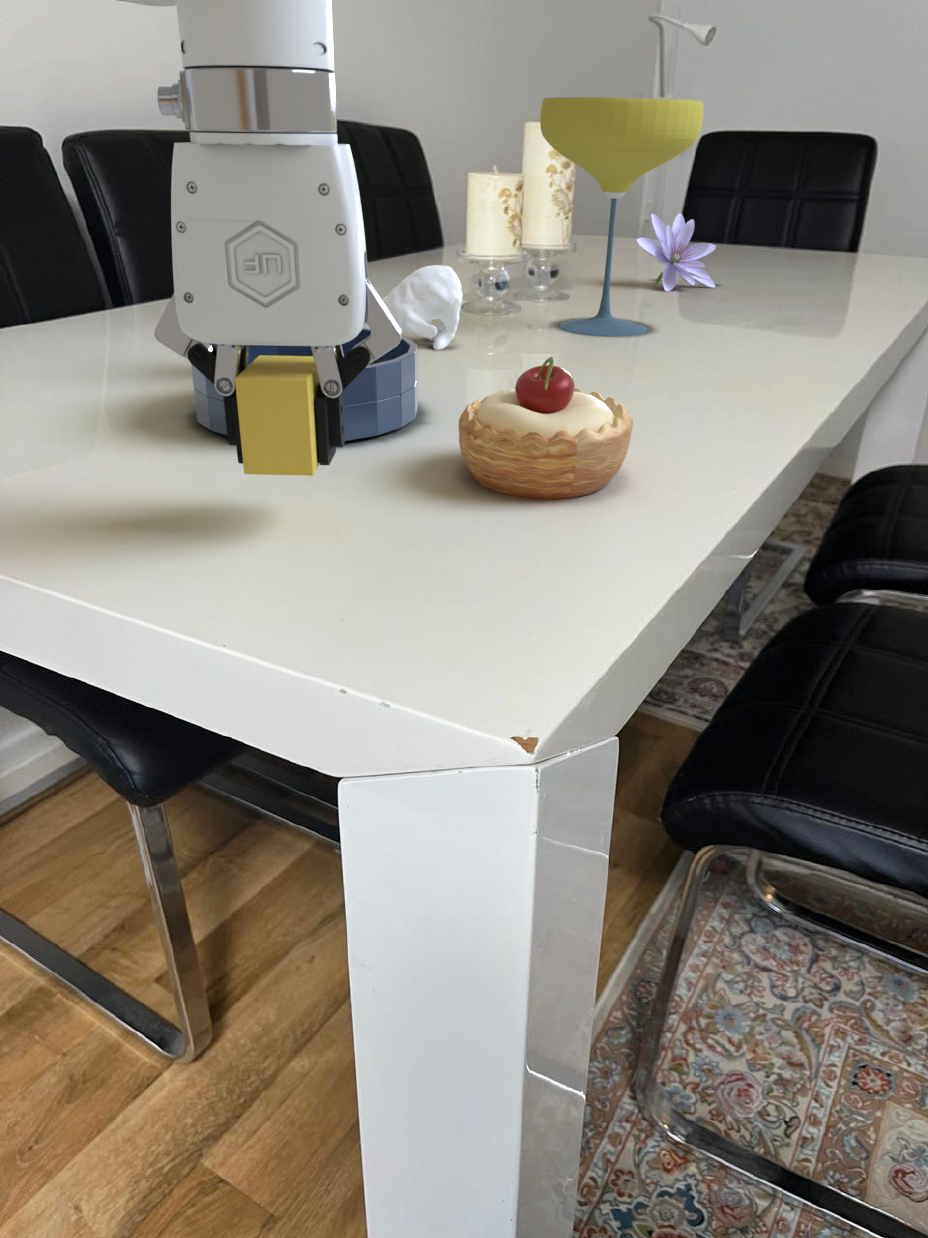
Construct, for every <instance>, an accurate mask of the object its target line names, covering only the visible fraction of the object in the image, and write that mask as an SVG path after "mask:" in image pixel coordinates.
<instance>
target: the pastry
mask: <svg viewBox="0 0 928 1238" xmlns="http://www.w3.org/2000/svg"><path fill="white" fill-rule="evenodd" d="M575 386H576V385H575V381H574V378H573V376H572V374H571V373H570V372H569V371H568V370H566V369H565V368H564V367H560V366H557V365H554V357H553V356H550V357H548V358H547V359H546V360H545V361H544V362H543V363H542V365H538V366H534V367H530V368H529V369H527V370H526V371H524V372H522V374H521V375H519V377H518V378H517V380H516V383H515V386H514V388H509V389H502V390H498V391H496V392H494V393H492V394H488V395H487V396H485V397H484V398H483V399H482V400H479V399H477V400H474V401H473V402H472V403H468V404H467V405H466V406H465V408H464V410H463V411H462V412H461V414H460V416H459V419H458V445H459V449H460V454H461V456H462V460H463V461H464V464H465V466H466V468H467V470H468V471H469V473H470V474H471V475H472V477H473V478H474V479H475V481H476V482H477V483H478V484H479V485H481V486H482V487H484V488H486V489H488V490H490V491H493V492H496V493H499V494H502V495H506V496H511V497H518V498H523V499H524V498H525V499H533V500H563V499H565V500H566V499H571V498H572V499H573V498H579V497H582V496H588V495H590V494H593V493H596V492H598V491H600V490H602V489H604V488H605V487H606V486H608V484H609V483H610V482H611V481H612V480H613V478H614V477H615V476H616V474H617V473H618V472H619V471H620V469H621V467H622V465H623V463H624V461H625V459H626V457H627V454H628V451H629V447H630V443H631V437H632V432H633V426H634V420H633V418H632V415H631V414H630V411H628V409H627V407H626V406H625V405H624V404H623V403H621V402H619V403H618V402H617V401H616V400H615V399H614V397H613V398H612V397H610V396H608V397H607V398H606V399H605V398H604V397H603V396H602V395H601V394H600V393H599V392H596V391H591V392H590V393H589V394H588V393H584V392H583V391H582V390H581V389H579V388H575Z"/></svg>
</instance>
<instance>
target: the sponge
mask: <svg viewBox="0 0 928 1238" xmlns="http://www.w3.org/2000/svg"><path fill="white" fill-rule="evenodd" d="M319 383H320V382H319V378H318V374H317V370H316V366H315V361H314V357H313V356H265V355H259V356H258V357H257V358H256V359H255V360H254V361H253V362H252V363H251V364H250V365H249V366H248V367H247V368H246V369H245V370H244V371H243V372H241V373H240V374H239V375H238V376H237V377H236V378H235V384H236V395H237V405H238V415H239V425H240V436H241V446H242V456H243V464H242V465H243V474H244V475H259V476H260V475H263V476H264V475H265V476H271V475H272V476H308V477H309V476H311V477H313V476H314V475H315V473H316V471H317V469H318V467H319V465H320V463H318V461H317V447H316V430H315V414H314V399H315V398H316V396H317V395H318V385H319Z"/></svg>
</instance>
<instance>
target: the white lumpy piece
mask: <svg viewBox="0 0 928 1238" xmlns="http://www.w3.org/2000/svg"><path fill="white" fill-rule="evenodd" d="M463 295H464V294H463V291H462V284H461V281H460V279H459V276H458V275H457V273H456V272H455V271H454V269H453V268H452V267H451V266H449V265H441V264H433V265H427V266H423V267H419V268H418V269H416V270H414V271H413V272H411V274H409V275H408V276H405V278H404V279H402V280H401V281H400V282H399V284H398V285H396V286H395V287H393V288H392V289H391V290H390V291H389V292H388V294H387V295H386V296H383V297H382V298H381V300H382V301H383V303H384V304H385V306H386V307H387V309H388V310H389V312H390V313H391V315H392V316H393V318H394V319H395V321H396V323H397V324H398V326H399V327H400V329H401V331H402V334H406V335H409V334H415V335H418V336H420V337H423V338H426V339H428V340H429V341H431V342H433V343H432V348H433V350H438V351H439V350H443V349H445V348H446V347H448V346H449V344H450V343H451V341H452V340H453V339H454V337H455V335H456V332H457V329H458V325H459V322H460V312H461V307H462V301H463ZM436 320H439V321H440V323H441V325H440V326H438V327H436V326H435V325H433V324H432V321H436ZM363 328H369V329H370V327H369V326H368V324H367V323H365V324H364V325H363Z"/></svg>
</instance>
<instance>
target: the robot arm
mask: <svg viewBox="0 0 928 1238" xmlns="http://www.w3.org/2000/svg"><path fill="white" fill-rule="evenodd" d="M117 1H119V2H125V3H130V4H137V5H140V6H141V5H142V6H149V7H174V6H176V13H177V23H178V31H179V41H180V51H181V52H180V53H181V60H182V68H183V71H181V70H180V71H179V79H178V80H177V82H176V83H175V82H174V83H173V84H172V86H166V85H165V86H163V85H162V86H158V89H157V93H156V94H157V104H158V108H159V112H160V114H161V115H162V116H175V118H176V119H181V120H182V123H184V128H185V130H189V139H190V140H189V141H190V142H189V141H188V142H187V141H186V142H174V143H173V151H172V161H171V182H170V183H171V184H170V185H171V186H170V187H171V188H170V193H171V194H170V198H171V199H170V221H171V222H170V224H171V225H170V226H171V227H170V229H171V257H172V276H173V279H172V280H173V293H172V295H171V298H170V299H169V302H168V303H167V305H166V307H165V309H164V311H163V313H162V315H161V316H160V319H159V320H158V323H157V325H156V326H155V328H154V333H153V334H154V337H155V339H156V341H158V342H159V343H160V344H162V345H163V346H165V347H166V348H167V349H170V350H171V351H173V352H174V353H176V354H177V355H179V356H180V357H183V358H185V359H187V360H188V361H189V363H190V365H191V364H192V365H193V366H194V367H196V368H197V369H198V370H199V371H200V372H201V373H202V374H203V375H204V376H205V377H206V378H207V379H208V380H210V381H211V382H212V383H213V384H214V387H215V390H216V391H217V392H218V393H219V394H220V395H223V399H224V409H225V419H226V429H227V435H226V436H227V443H228V445H229V446H236V457H237V462H238V464H239V465H240V464H242V465H243V456H242V446H241V436H240V425H239V415H238V405H237V395H236V384H235V378H236V377H237V376H238V375H239V374H240V373H241V372H243V371H244V370H245V369H246V368H247V364H248V354H249V345H271V346H311V349H312V353H313V357H314V361H315V366H316V370H317V374H318V378H319V382H320V383H319V385H318V395H317V396H316V398H315V399H314V414H315V430H316V447H317V461H318V463H319V465H320V466H330V465H331V463H332V461H333V459H334V457H335V455H336V452H337V448H344V446H345V442H346V441H345V423H344V402H343V390H344V389H345V388H346V387H347V386H348V385H349V384H350V383H351V382H352V381H353V380H354V379H355V378H356V377H357V376H358V375H359V374H360V373H361V372H362V371H363V370H364V369H365V368H366V366H367V365H369V364H370V363H372V362H373V361H375V360H377V359H378V358H380V357H381V356H383V355H384V354H386V353H387V352H389V351H390V350H392V349H393V348H395V347H396V346H398V345H399V343H400V341H401V339H402V336H403V333H402V331H401V329H400V327H399V326H398V324H397V323H396V321H395V319H394V318H393V316H392V315H391V313H390V312H389V310H388V309H387V307H386V306H385V304H384V303H383V301H382V300H381V299H382V298H381V297H380V295H379V293H378V292H377V290H376V288H375V287H374V286H373V284H372V283H371V281H370V279H369V266H368V256H367V255H368V254H367V246H366V233H365V226H364V225H365V224H364V216H363V209H362V208H363V207H362V202H361V195H360V188H359V187H360V186H359V182H358V176H357V172H356V166H355V161H354V158H353V154H352V150H351V145H350V144H349V143H348V144H347V143H338V133H337V132H338V121H337V120H338V119H337V99H336V97H337V94H336V76H335V73H334V72H335V58H334V57H335V55H334V53H335V52H334V32H333V31H334V30H333V8H332V7H333V6H332V5H333V4H332V3H333V2H332V0H117ZM365 323H367V324H368V326H369V327H370V330H371V334H370V335H369V336H368V337H366V338H365V339H364V340H362V341H361V342H359V343H357V344H356V345H354V346H353V347H352V348H351V350H350V351H349V352H348V353H347V354H346V355H345V356H344V353H343V349H342V345H341V344H344V343H347V342H349V341H351V340H353V339H354V338H355V337H357V336H358V334H359V333H360V332H361V331H362V328H363V325H364V324H365ZM214 344H217V347H216V346H215V345H214Z"/></svg>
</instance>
